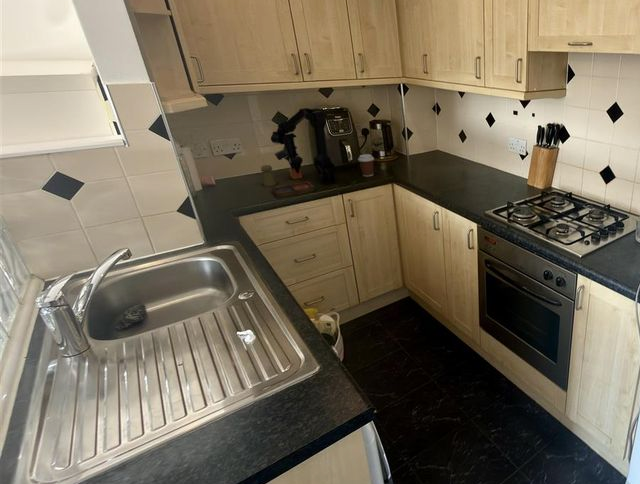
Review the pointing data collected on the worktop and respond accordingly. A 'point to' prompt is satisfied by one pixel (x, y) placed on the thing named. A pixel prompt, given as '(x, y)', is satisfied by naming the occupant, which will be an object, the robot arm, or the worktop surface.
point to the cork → (268, 175)
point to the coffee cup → (366, 164)
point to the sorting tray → (293, 189)
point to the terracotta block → (295, 174)
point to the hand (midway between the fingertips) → (295, 171)
